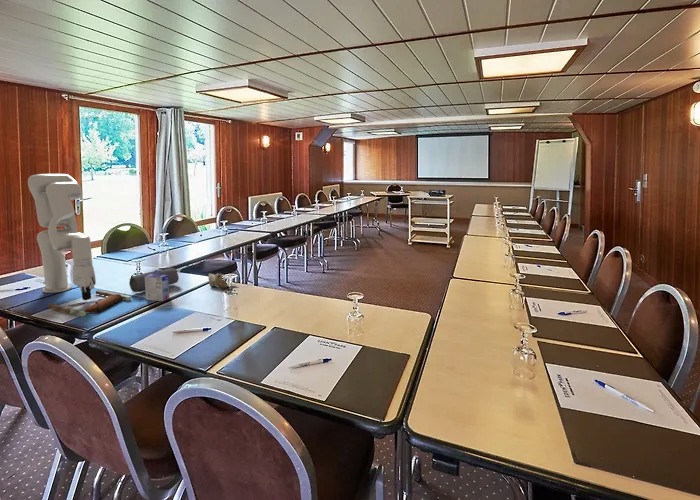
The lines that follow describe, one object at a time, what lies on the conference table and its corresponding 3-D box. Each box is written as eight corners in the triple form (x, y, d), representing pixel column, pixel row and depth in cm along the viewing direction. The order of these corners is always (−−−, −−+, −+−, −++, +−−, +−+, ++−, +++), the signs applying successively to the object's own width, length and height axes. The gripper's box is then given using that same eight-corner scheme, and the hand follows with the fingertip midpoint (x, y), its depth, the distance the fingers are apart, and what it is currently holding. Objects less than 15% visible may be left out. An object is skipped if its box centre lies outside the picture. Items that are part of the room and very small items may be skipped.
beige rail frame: (48, 308, 190) (48, 304, 189) (98, 293, 212) (98, 290, 212) (82, 316, 181) (81, 312, 181) (131, 300, 203) (130, 296, 203)
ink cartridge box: (170, 298, 208) (168, 270, 205) (163, 301, 202) (161, 273, 199) (153, 296, 210) (150, 269, 207) (145, 300, 204) (143, 271, 201)
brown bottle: (106, 299, 204) (111, 288, 202) (118, 307, 204) (124, 296, 203) (81, 312, 186) (87, 300, 185) (94, 320, 186) (101, 308, 185)
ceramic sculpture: (214, 268, 233) (238, 272, 230) (214, 282, 235) (237, 287, 232) (202, 272, 223) (227, 277, 220) (202, 288, 225) (227, 292, 222)
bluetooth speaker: (170, 283, 233) (169, 266, 231) (179, 286, 228) (178, 268, 226) (129, 292, 215) (127, 274, 213) (138, 296, 210) (137, 277, 207)
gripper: (64, 261, 193) (68, 299, 197) (86, 265, 187) (90, 304, 191) (80, 258, 200) (83, 294, 203) (101, 262, 194) (105, 299, 198)
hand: (86, 299), depth 197 cm, fingers closed
